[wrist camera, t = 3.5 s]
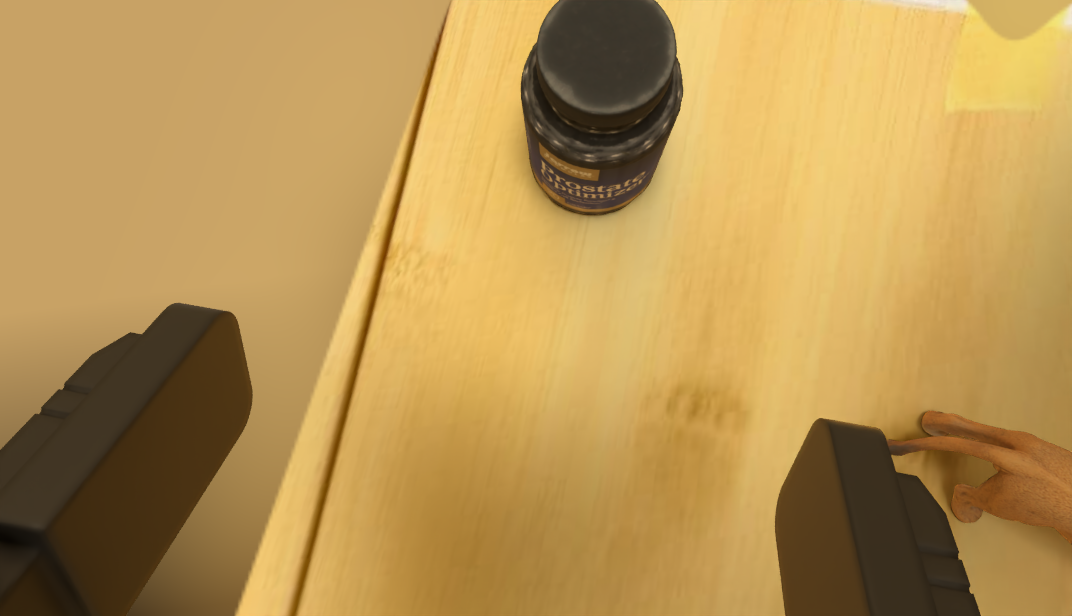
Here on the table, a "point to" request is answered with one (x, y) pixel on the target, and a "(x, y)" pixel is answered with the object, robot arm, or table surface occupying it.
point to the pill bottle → (600, 101)
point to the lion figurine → (1003, 472)
